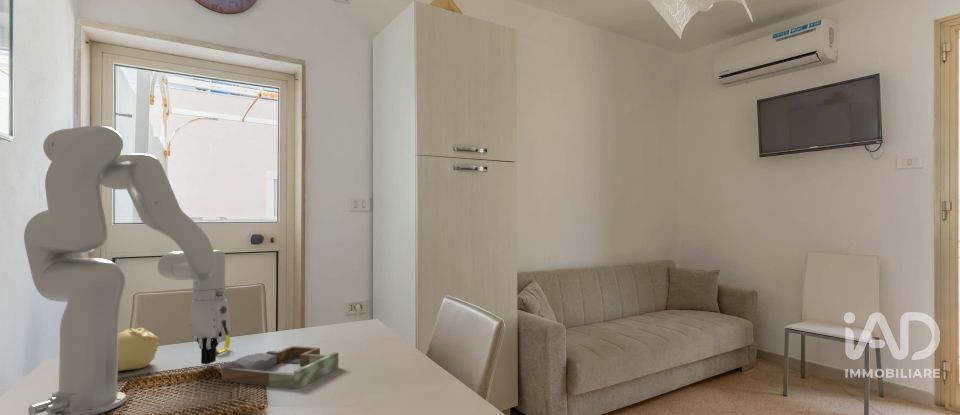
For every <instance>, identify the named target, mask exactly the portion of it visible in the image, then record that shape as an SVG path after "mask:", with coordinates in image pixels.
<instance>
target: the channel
mask: <svg viewBox="0 0 960 415" xmlns="http://www.w3.org/2000/svg"><path fill="white" fill-rule="evenodd" d="M266 354H271V355H276V358H277V363H276V365H278V364H282V361H285V360H287V359H290V358H292V357H300V364H299V366H300V368H297V369H296V370H293V373H291V372H282V371H273V370H272V371H269V370H266V371H262V370H251V369H240V368H229V367H225V368H222V375H221V381H222V382H228V383H229V382H230V383H237V384H250V385H260V386H267V387H268V386H269V387H278V388H286V389H287V388H288V389H295V390H298V389H301V388H303V387H304V386H306V385H308V384H310V383H312V382H314V381H315V380H318V379H320V378H322V377H323V376H325V375H327V374H328V373H330V372H333V371H335V370H337V369H338V368H339V352H338V351H337V352H335V351H334V352H332V353H330V354H327V355H326V354H325V355H324V354H321V348H320V347H312V346H309V347H308V346H299V345H298V346H297V345H291V346H288V347H286V348H284V349H281V350H279V351H277V350H276V351H275V350H269V351H266Z"/></svg>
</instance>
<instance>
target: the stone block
mask: <svg viewBox="0 0 960 415" xmlns="http://www.w3.org/2000/svg"><path fill="white" fill-rule="evenodd" d="M276 363H277V358H276V355H271V354H267V352H265V353H264V352H259V353H254V354H249V355H245V356H243V357H240V358H237V359H236V360H234V361H231V362H228V363H226V364H223V365H221V368H220V373H221V374H220V375H221V376H222V368H225V367H229V368H240V369H251V370H262V371H269V370H270V369H272V368H274V367H276V365H277V364H276Z"/></svg>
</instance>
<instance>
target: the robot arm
mask: <svg viewBox="0 0 960 415" xmlns="http://www.w3.org/2000/svg"><path fill="white" fill-rule="evenodd" d="M42 148H43V152H44V154H45V156H46V157H47V158H48V160H50V164H49V166H48V169H47V171H46V174H45V180H44V181H45V182H44V188H45V189H44V190H45V196H46V203H47V210H43V211H41V212H39V213H36V214H35V215H34V216H33V217H31V218H30V220H28V222H27V224H26V226H25V229H24V231H23V232H24V233H23V243H24V246H25V251H26V256H27V260H28V265H29V270H30V273H31V278H32V281H33V284H34V286H35V289H36V291H37V292H38V293H39V294H40V295H41V296H42V297H43V298H45V299H47V300H49V301H53V302H64V303H67V304H66V306H65V308H64V312H63V314H62V317H61V321H60V326H59V358H58V360H59V364H58V365H59V366H58V370H59V371H58V391H55V392H52V393H51V394H52V396H51V397H50V398H48V399H47V400H45V401H43V402H37V403H35V404H32V405H30V406H29V407H28V410H27V411H28V414H29V415H38V414H40V413H44V412H46V413H47V415H98V414H103V413H106V412H108V411H111V410H113V409H115V408H118V407H119V406H122V405H123V404H125V402H126V400H127V394H126V393H124V392H120V391H118V373H119V371H118V333H119V317H120V316H119V315H120V309H121V308H120V306H121V300H122V297H123V293H124V289H125V282H126V280H125V279H126V277H125V274H124V271H123V269H122V268H121V267H120V265H118V264H117V263H115V262H114V261H111V260H109V259H105V258H101V257H100V258H99V257H83V254H85V253H86V254H87V253H92V252H95V251H97V250H99V249H101V248H102V247H103V246H104V245H105V244H106V242H107V240H108V235H109V233H108V232H109V231H108V225H107V221H106V216H105V215H106V214H105V210H104V206H103V203H102V202H103V201H102V196H101V187H100V186H103V187H105V188H109V189H112V190H126V191H127V193H128V195H129V197H130V199H131V201H132V203H133V206H134V208H135V210H136V212H137V214H138V216H139V218H140V221H141V223H142V224H144V225H145V226H148V227H149V228H150V229H152V230H155V231H157V232H159V233H161V234H163V235H164V236H166V237H167V238H170V239H171V240H172V241H173V242H174V243H175V244H176V245H177V246H178V247H179V249H180V250H175V251H174V250H173V251H169V252H167V253H165V254H164V255H162V257H160V258H159V260H158V262H157V270H158V272H159V274H160V275H161V276H162V278H165V279H169V280H174V281H192V301H191V305H190V308H189V309H190V310H189V320H188V332H189V336H191V341H194V342H197V343H198V347H199V349H200V350H201V351H200V354H201V355H200V356H201V358H200V363H201V365H209V364H212V363H214V362H216V361H217V360H216V359H217V357H216V356H217V353H216V348H217V347H218V346H219V344H220V343H222V342H225V341H226V335H228V336H229V335H230V333H231V314H230V307H229V303H228V302H229V301H228V299H227V298H226V295H227V292H226V288H225V287H226V254H225V252H224V251H223V250H220V249H214V248H213V246H212V243H211V241H210V239H209V237H208V236H207V234H206V233H205V232H204V230H203V229H202V228H201V227H200V226H199V225H198V224H197V223H196V222H195V221H194V220H193V219H192V218H191V217H190V216H189V215H187V214H186V213H185V212H184V211H183V210H182V208H181V207H180V205H179V204H180V203H179V201H178V199H177V198H176V195H175V192H174V190H173V188H172V185H171V184H170V180H169V178H168V176H167V174H166V171H165V169H164V167H163V164H162V162H160V160H159V159H158V158H157V157H156V156H154V155H153V154H152V155H151V154H148V153H139V152H138V153H126V154H122V152H123V149H124V140H123V138H122V136H121V134H120V133H119V132H118V131H117V130H116V129H114V128H113V127H109V126H103V125H86V126H85V125H84V126H79V127H73V128H72V127H70V128H62V129H58V130H55V131H53V132H51V133H49V134H48V135H47V136H46V137H45V139H44V141H43V147H42Z"/></svg>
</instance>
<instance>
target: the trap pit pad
mask: <svg viewBox="0 0 960 415" xmlns="http://www.w3.org/2000/svg"><path fill="white" fill-rule="evenodd" d="M282 363H284V364H294V365H300V357H292V358H290V359H287V360H285V361H282ZM282 363H281V364H282Z"/></svg>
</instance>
